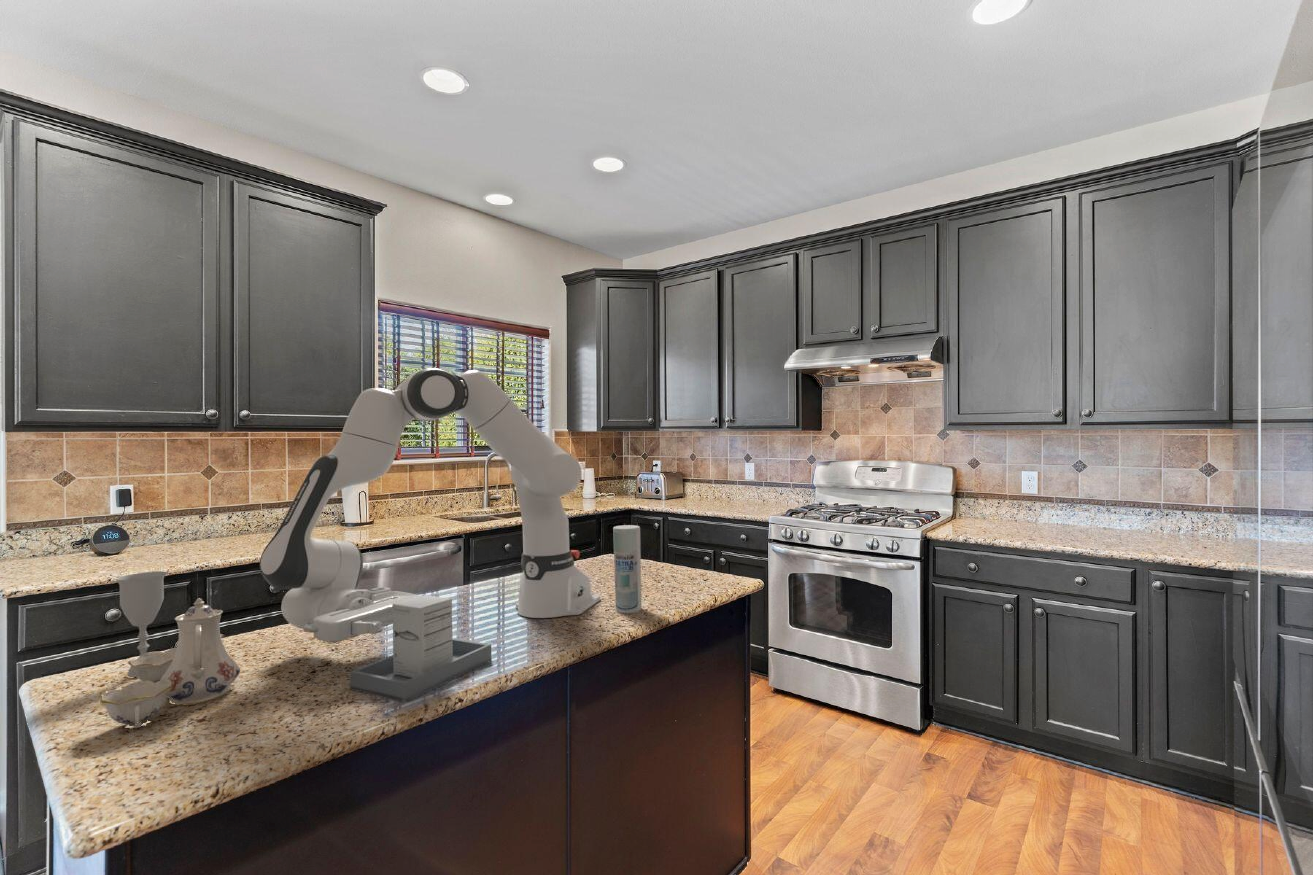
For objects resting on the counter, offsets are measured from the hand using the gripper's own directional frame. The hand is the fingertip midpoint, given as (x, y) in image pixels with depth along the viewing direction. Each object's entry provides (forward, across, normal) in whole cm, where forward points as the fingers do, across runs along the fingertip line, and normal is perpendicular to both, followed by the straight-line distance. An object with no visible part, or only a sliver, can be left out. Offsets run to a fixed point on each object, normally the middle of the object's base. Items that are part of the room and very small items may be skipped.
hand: (400, 620), depth 111 cm
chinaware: (-25, -24, +10) cm, 36 cm away
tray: (+6, 0, +9) cm, 11 cm away
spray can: (+20, +50, +9) cm, 55 cm away
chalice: (-44, -20, +9) cm, 49 cm away
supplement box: (+6, 0, +8) cm, 10 cm away
